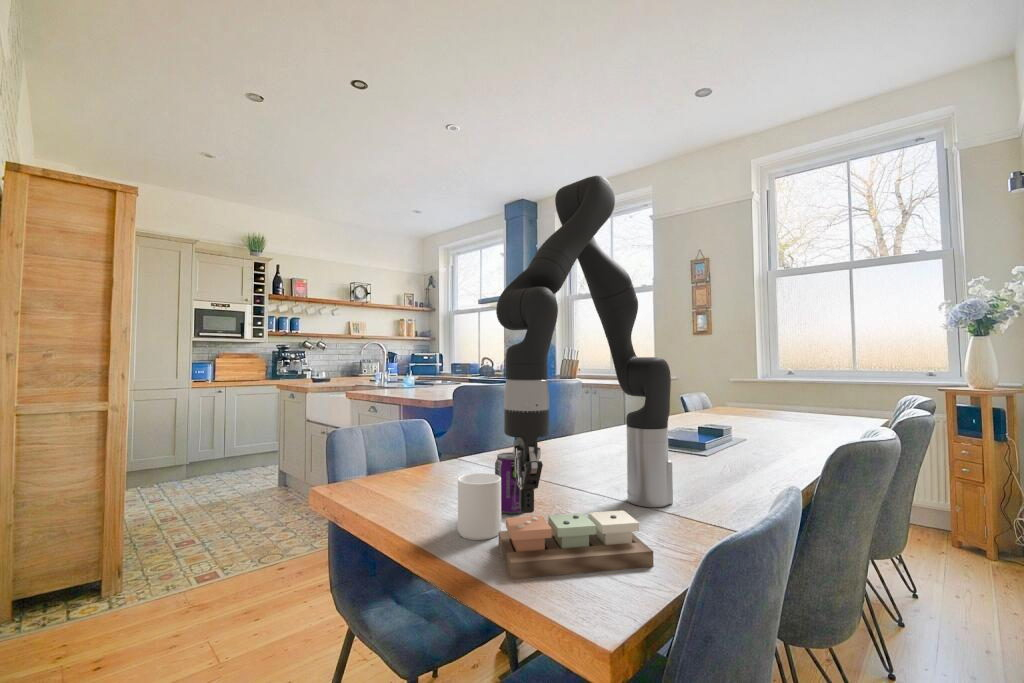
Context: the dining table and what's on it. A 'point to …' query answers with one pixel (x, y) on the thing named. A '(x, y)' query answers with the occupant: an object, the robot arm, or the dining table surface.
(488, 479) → the mug
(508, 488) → the beverage can
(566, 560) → the keypad board
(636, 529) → the key one
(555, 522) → the key two
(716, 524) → the dining table surface
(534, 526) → the key three
